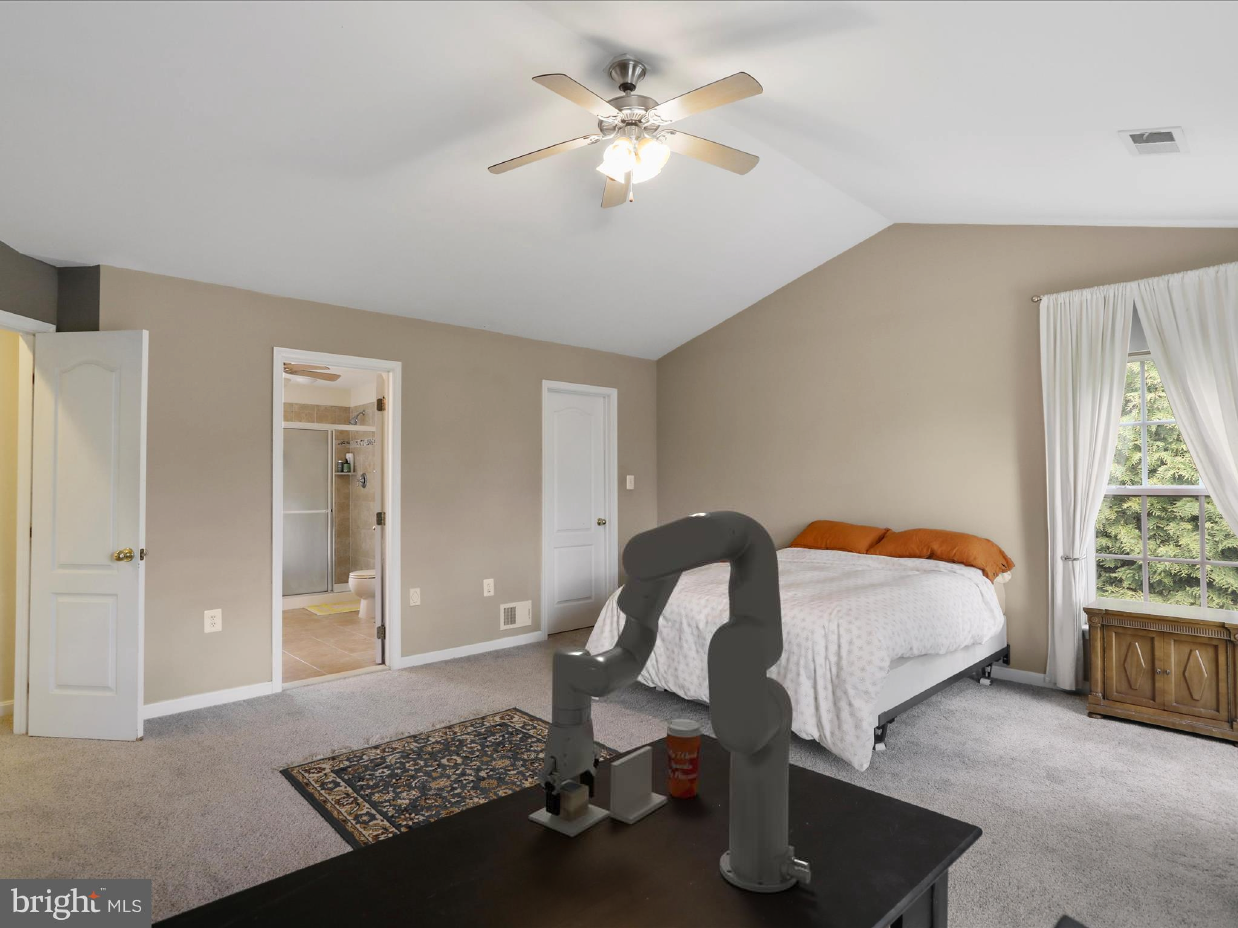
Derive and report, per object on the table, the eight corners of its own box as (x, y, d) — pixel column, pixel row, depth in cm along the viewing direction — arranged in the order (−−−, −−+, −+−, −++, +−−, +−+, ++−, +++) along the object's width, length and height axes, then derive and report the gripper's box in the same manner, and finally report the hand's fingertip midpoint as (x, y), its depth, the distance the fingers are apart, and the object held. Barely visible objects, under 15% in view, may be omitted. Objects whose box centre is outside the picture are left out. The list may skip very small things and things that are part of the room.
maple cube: (588, 812, 137) (588, 785, 137) (570, 822, 133) (571, 793, 133) (568, 805, 140) (569, 778, 140) (551, 814, 136) (551, 786, 136)
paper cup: (660, 797, 145) (661, 728, 145) (669, 782, 152) (669, 716, 153) (698, 802, 143) (699, 732, 143) (705, 787, 150) (706, 720, 150)
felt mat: (610, 814, 137) (610, 811, 137) (572, 836, 128) (572, 833, 128) (567, 798, 144) (567, 795, 144) (528, 818, 135) (528, 815, 135)
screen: (666, 802, 143) (667, 751, 143) (631, 824, 133) (631, 770, 134) (646, 795, 146) (647, 745, 146) (610, 816, 136) (610, 763, 137)
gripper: (585, 699, 146) (584, 784, 145) (525, 721, 132) (524, 814, 132) (614, 706, 141) (613, 794, 141) (555, 729, 127) (553, 827, 127)
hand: (570, 804), depth 136 cm, fingers open, 9 cm apart
